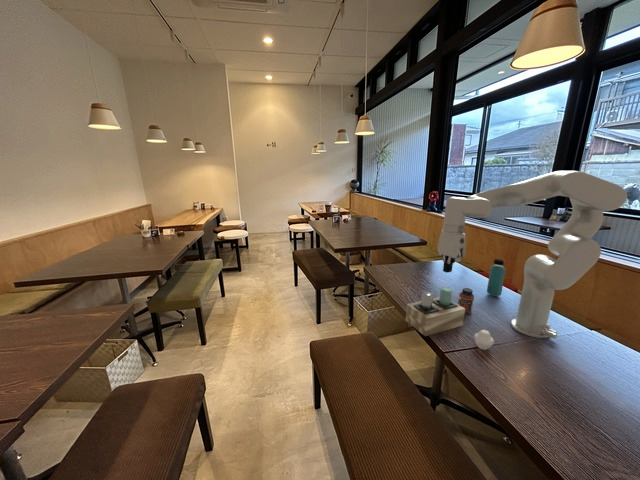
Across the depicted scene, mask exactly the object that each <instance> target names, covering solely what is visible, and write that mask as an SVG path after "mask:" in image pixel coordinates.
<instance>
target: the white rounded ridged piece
mask: <svg viewBox="0 0 640 480" xmlns="http://www.w3.org/2000/svg"><path fill="white" fill-rule="evenodd" d="M473 338H474V341H475V344H476V346H477V348H478V349H480V350H483V351H487V350H488V349H490V347H492V346H493V344H494V343H495V340H494V338H493V337H492V335H491V332H489V331H488V330H487V329H480V330H479V331H478V332H476V333H475V334H474V336H473Z"/></svg>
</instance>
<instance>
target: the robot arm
mask: <svg viewBox="0 0 640 480" xmlns="http://www.w3.org/2000/svg"><path fill="white" fill-rule="evenodd" d="M557 196H558V197H559V196H560V197H565V198H566V197H568V198H569V201H570V203H571V206H572V207H571V208H572V210H571V211H572V212H571V216H569V219H567V222H565V224H563V226H562V227H561V228H560V229H559V230H558V231H557V232H556V233H555V234H554V236H553V237H552V238H551V239H550V240H549V241H548V243H547V249H548V251H549V252H551V254H553V255H554V256H557V257H558V258H557V259H556V258H553V257H551V256H549V255H546V254H540V253H539V254H534V255H531V256H530V257H528V259H526V261H525V263H524V265H523V266H524V267H523V273H524V274H523V284H522V286H523V287H522V290H521V296H520V301H519V304H518V311H517V316H516V318H513V319H512V320H511V321H510V325H511V327H512V329H514V330H515V331H517V332H519V333H520V334H523V335H526V336H527V337H528V336H529V337H531V338H536V339H546V338H549V337H550V338H552V339H554V340H555V339H557V337H558V331H556V330H555V329H552V328H551V324H550V323H548V321H549V317H550V312H551V309H552V305H553V300H554V297H555V290H556V291H563V290H566V289H569V288H570V287H572V286H573V285H574V284H575V283H577V282H578V281H579V280H580V279H581V278H582V277H583V276H584V275H585V274H587V272H588V271H589V270H590V269H591V268H592V267H593V266H594V265H595V264H596V263H598V260H599V259H600V257H601V254H602V249H601V246H600V244H599V243H598V242H597V241H596V240H594V239H592V238H593V237H594V236H595V234H596V233H598V231H599V230H600V229H601V227H602V225H603V222H604V212H610V211H615V210H617V209H620V208H621V207H623V206H624V205H625V203H626V202H627V200H628V194H627V191H626V190H625V188H624V187H622V186H621V185H619V184H616V183H614V182H611V181H608V180H605V179H603V178H600V177H597V176H595V175H593V174H589V173H588V172H587V173H586V172H583V171H580V170H556V171H552V172H549V173H545V174H543V175H538V176H537V177H533V178H529V179H526V180H523V181H520V182H516V183H513V184H509V185H503V186H499V187H497V188H496V187H495V188H492V189H488V190H485V191H484V190H483V191H482V192H478V193H475V194H473V195H470V196H467V198H466V197H461V196H450V197H447V199H446V202H445V210H444V214H443V215H444V218H443V223H442V224H443V226H442V229H441V232H440V234H439V237H438V242H437V252H438V253H437V254H438V255H439V256H440V257H441V258H442V262H443V267H442V272H444V273H451V272H453V265H454V264H455V263H458V262H462V258H464V257H465V254H466V245H467V243H466V241H467V240H466V233H464V232H466V228H465V226H466V225H465V224H466V218H467V217H469V218H475V219H476V218H477V219H484V218H486V217H488V216H490V215H491V214H492V212H493V210H494V208H498V207H520V206H526V205H529V204H533V203H537V202H540V201H543V200H547V199H551V198H554V197H557Z"/></svg>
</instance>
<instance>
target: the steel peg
mask: <svg viewBox="0 0 640 480" xmlns="http://www.w3.org/2000/svg"><path fill="white" fill-rule="evenodd" d="M433 298H434V294H433V293H431V292H430V291H423V292H421V298H420V299H421V300H420V301H421V307H420V308H421V309H423V310H424V311H430V310H432V303H433Z"/></svg>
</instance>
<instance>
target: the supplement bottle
mask: <svg viewBox="0 0 640 480" xmlns="http://www.w3.org/2000/svg"><path fill="white" fill-rule="evenodd" d="M474 300H475V294H473V289H472V288H469V287H463V288H462V290H461V292H459V296H458V301H457V304H458V305H460V306H461V307H463V308H465V314H464V315H471V314H472V312H473V308H474V307H473V306H474Z"/></svg>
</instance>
